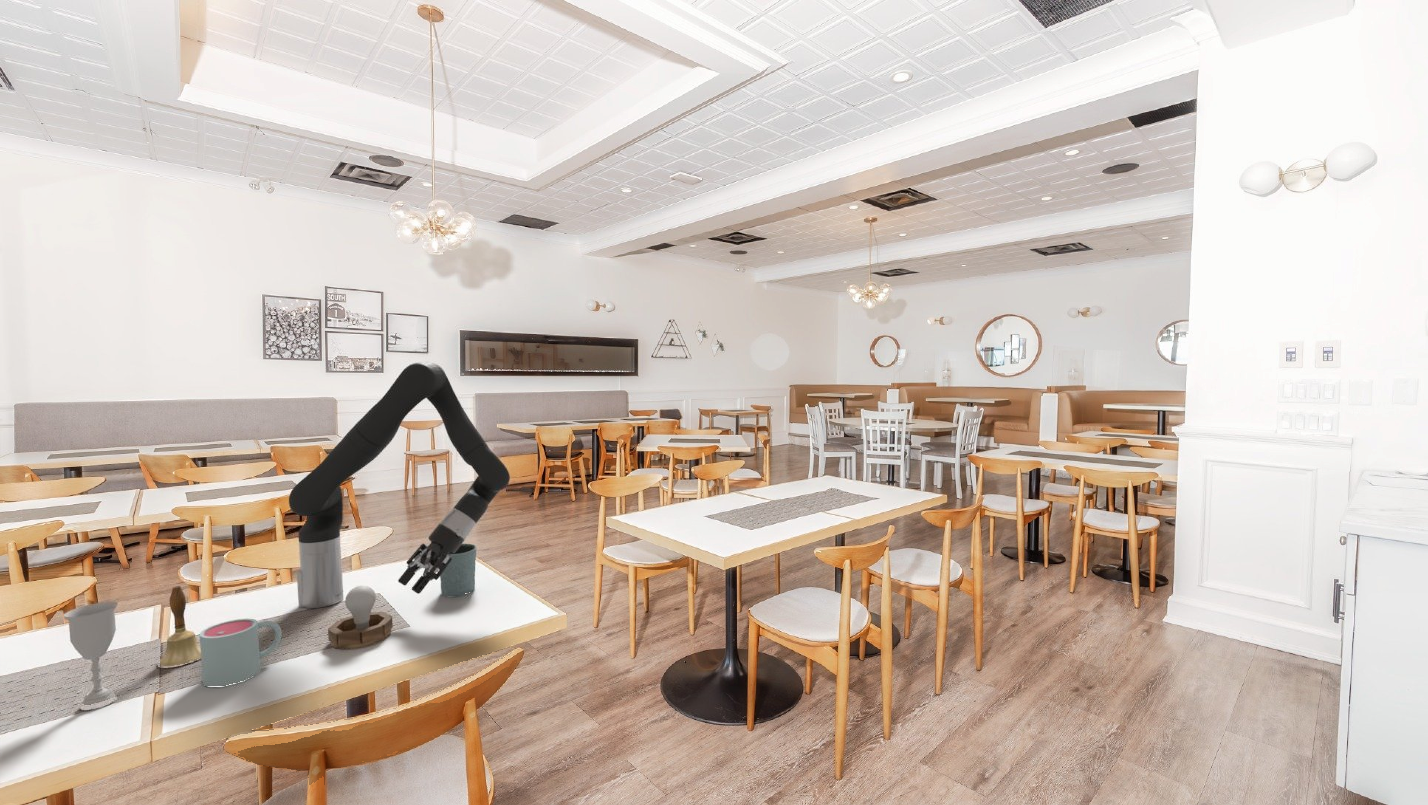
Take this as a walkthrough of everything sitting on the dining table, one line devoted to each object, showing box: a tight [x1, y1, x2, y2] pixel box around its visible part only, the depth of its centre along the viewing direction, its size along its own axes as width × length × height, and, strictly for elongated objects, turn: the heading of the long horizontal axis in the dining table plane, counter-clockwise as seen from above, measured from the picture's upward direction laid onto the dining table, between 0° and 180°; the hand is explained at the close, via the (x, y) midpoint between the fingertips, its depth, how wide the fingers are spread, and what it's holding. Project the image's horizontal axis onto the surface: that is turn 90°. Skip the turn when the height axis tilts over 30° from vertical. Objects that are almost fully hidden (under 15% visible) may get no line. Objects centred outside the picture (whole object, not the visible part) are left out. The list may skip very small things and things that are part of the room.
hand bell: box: [159, 585, 201, 666], centre depth 131 cm, size 8×8×16 cm
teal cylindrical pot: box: [439, 543, 477, 597], centre depth 169 cm, size 10×10×12 cm
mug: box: [199, 618, 283, 687], centre depth 126 cm, size 14×9×10 cm
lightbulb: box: [344, 585, 377, 631], centre depth 141 cm, size 6×6×11 cm
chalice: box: [63, 601, 119, 705], centre depth 114 cm, size 7×7×18 cm
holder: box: [327, 611, 394, 651], centre depth 141 cm, size 12×12×4 cm
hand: (407, 587), depth 148 cm, fingers open, 8 cm apart
